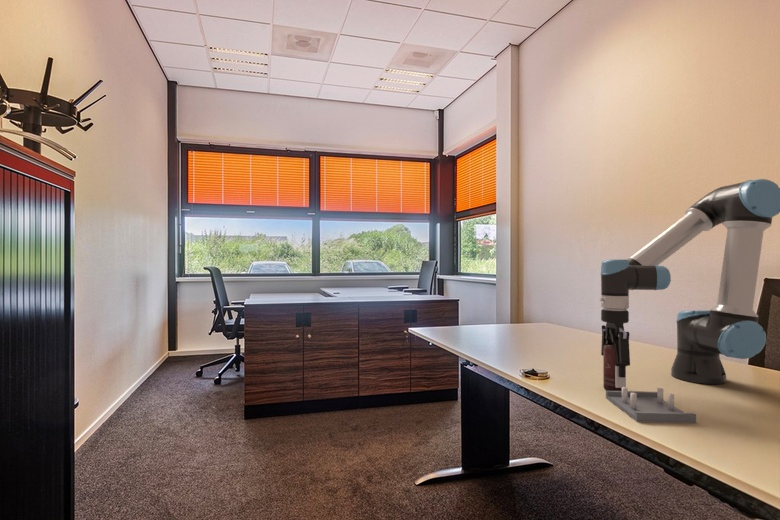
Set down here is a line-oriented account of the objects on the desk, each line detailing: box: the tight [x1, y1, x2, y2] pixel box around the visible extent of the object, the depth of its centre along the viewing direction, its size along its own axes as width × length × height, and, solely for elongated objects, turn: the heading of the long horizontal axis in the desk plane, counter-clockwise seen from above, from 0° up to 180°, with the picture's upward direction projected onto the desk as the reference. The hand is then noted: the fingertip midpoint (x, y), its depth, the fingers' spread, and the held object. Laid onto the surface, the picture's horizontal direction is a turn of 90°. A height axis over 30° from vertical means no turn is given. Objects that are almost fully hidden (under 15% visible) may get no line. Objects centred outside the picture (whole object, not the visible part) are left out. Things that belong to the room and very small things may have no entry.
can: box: [602, 344, 622, 392], centre depth 130 cm, size 6×6×14 cm
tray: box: [605, 387, 697, 424], centre depth 113 cm, size 14×18×5 cm
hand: (614, 383), depth 130 cm, fingers open, 7 cm apart
